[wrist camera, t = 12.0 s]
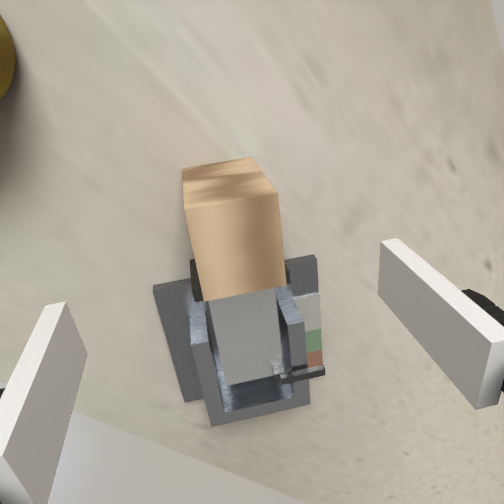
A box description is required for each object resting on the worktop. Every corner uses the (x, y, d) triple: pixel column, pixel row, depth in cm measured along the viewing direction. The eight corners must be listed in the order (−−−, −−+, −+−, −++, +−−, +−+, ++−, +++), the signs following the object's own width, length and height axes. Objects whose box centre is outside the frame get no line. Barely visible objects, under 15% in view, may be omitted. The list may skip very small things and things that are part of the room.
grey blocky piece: (213, 367, 42) (218, 405, 37) (189, 259, 35) (191, 290, 31) (311, 345, 43) (327, 380, 38) (304, 238, 36) (322, 264, 32)
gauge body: (184, 395, 44) (185, 432, 40) (153, 285, 37) (150, 316, 33) (319, 365, 46) (334, 398, 42) (313, 254, 39) (331, 279, 35)
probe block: (197, 242, 36) (204, 301, 28) (182, 168, 33) (183, 209, 24) (260, 230, 37) (286, 285, 28) (251, 156, 34) (277, 193, 25)
